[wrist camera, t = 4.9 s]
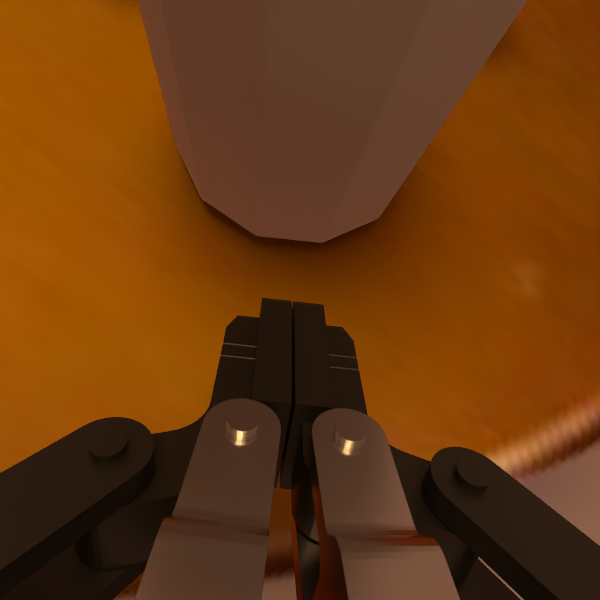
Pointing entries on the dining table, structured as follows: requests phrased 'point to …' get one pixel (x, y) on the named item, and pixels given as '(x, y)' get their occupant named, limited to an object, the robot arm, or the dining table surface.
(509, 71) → the dining table surface
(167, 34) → the jar
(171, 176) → the dining table surface
